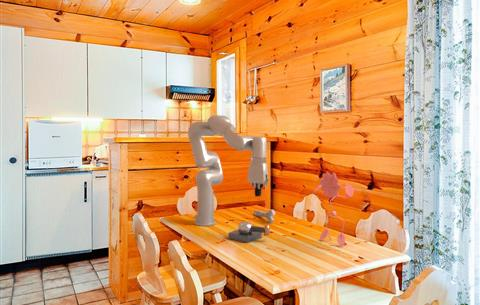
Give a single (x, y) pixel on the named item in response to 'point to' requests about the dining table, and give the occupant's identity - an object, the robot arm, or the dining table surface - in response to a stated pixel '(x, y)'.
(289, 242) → the dining table surface
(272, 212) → the wrench
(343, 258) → the dining table surface
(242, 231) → the ball-ended lever handle
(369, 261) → the dining table surface
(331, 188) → the figurine
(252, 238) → the base
